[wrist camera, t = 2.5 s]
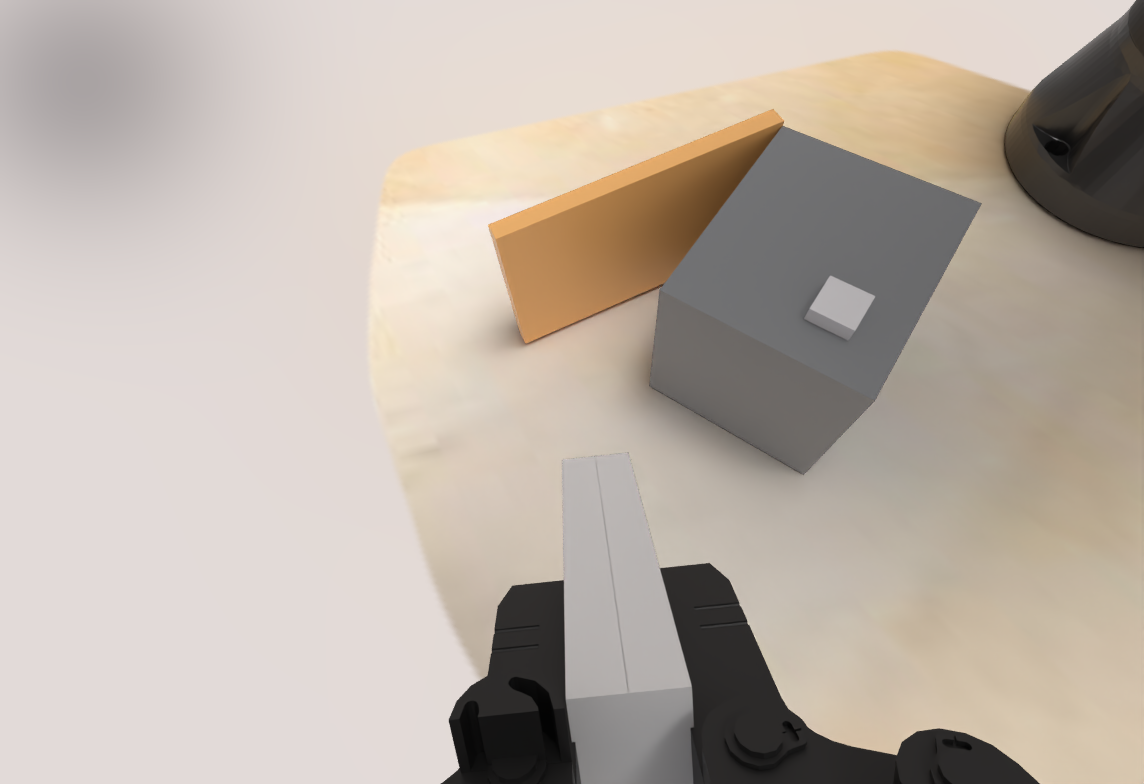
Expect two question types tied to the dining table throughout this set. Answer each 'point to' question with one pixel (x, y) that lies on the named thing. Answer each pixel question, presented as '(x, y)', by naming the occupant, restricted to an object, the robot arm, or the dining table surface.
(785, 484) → the dining table surface
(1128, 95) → the robot arm
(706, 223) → the side door
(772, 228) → the block
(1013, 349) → the dining table surface
